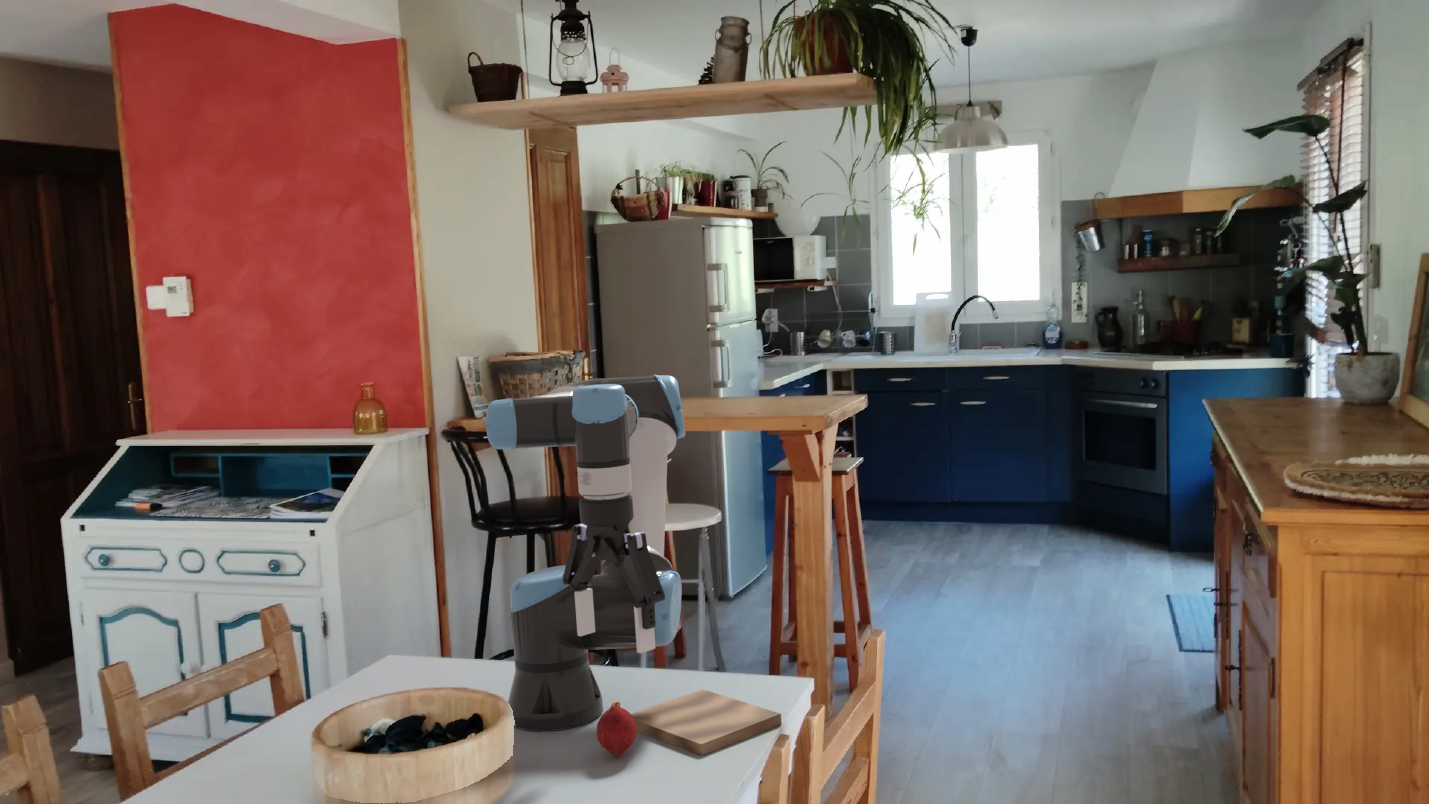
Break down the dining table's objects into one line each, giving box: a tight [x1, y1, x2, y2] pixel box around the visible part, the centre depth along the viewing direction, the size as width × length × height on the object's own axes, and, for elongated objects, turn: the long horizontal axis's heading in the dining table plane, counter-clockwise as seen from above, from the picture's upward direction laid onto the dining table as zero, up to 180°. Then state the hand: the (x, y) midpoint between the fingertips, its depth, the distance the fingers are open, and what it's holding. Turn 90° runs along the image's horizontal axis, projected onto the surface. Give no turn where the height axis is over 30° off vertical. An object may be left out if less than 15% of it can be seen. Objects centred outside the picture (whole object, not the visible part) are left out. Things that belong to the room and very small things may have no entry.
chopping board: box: [630, 689, 782, 756], centre depth 177 cm, size 18×16×2 cm
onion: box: [596, 700, 638, 758], centre depth 166 cm, size 6×6×8 cm
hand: (615, 642), depth 165 cm, fingers open, 13 cm apart
